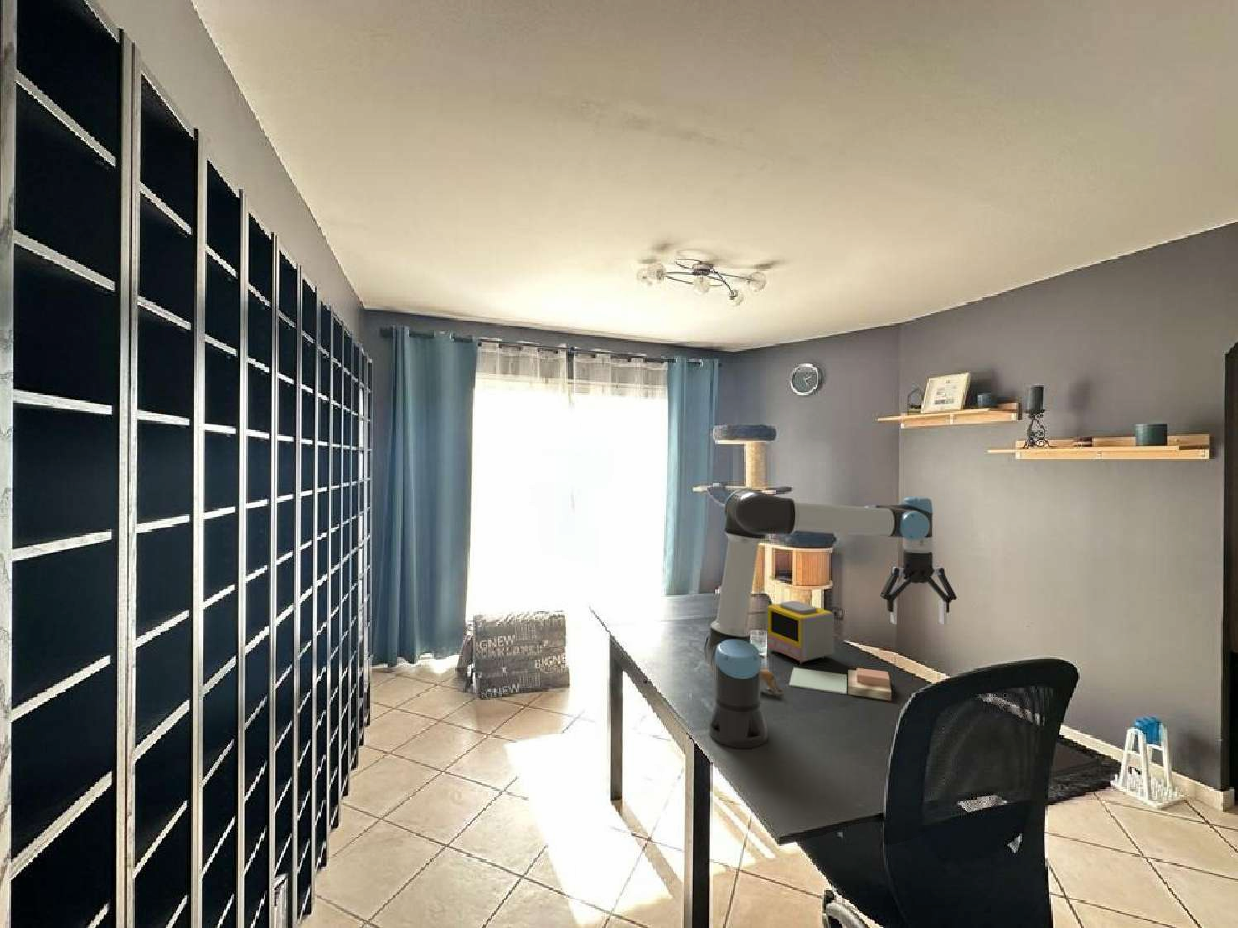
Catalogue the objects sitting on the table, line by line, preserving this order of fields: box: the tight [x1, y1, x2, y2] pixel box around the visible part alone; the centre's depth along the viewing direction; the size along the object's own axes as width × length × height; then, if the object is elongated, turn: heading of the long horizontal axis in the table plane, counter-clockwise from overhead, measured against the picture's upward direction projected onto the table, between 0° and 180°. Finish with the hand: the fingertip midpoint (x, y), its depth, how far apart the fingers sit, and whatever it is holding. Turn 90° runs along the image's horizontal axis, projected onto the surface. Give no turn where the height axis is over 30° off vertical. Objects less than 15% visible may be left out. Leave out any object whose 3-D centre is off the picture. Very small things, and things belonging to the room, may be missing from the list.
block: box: [856, 667, 890, 687], centre depth 177 cm, size 9×6×2 cm, turn 68°
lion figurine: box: [760, 669, 783, 696], centre depth 177 cm, size 15×5×9 cm, turn 66°
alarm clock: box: [765, 600, 835, 665], centre depth 207 cm, size 20×16×18 cm
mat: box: [788, 667, 848, 695], centre depth 184 cm, size 17×15×1 cm
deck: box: [847, 669, 892, 701], centre depth 178 cm, size 12×14×2 cm
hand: (918, 623), depth 164 cm, fingers open, 13 cm apart
